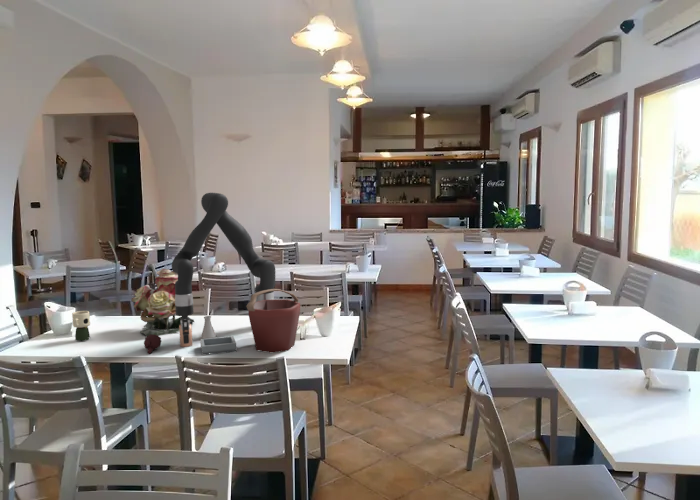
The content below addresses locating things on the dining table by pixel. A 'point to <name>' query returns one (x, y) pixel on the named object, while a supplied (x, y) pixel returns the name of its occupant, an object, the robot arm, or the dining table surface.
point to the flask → (208, 329)
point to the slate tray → (218, 345)
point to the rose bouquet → (158, 305)
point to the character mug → (81, 325)
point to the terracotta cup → (182, 336)
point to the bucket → (273, 322)
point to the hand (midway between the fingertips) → (186, 341)
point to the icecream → (152, 342)
